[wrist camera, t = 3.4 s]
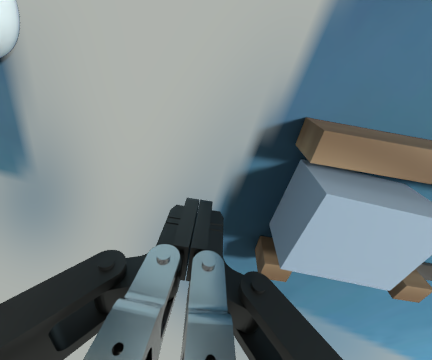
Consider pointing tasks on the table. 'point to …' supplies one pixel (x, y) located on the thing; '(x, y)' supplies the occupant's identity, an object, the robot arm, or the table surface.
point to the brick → (351, 227)
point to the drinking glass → (8, 25)
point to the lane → (369, 163)
